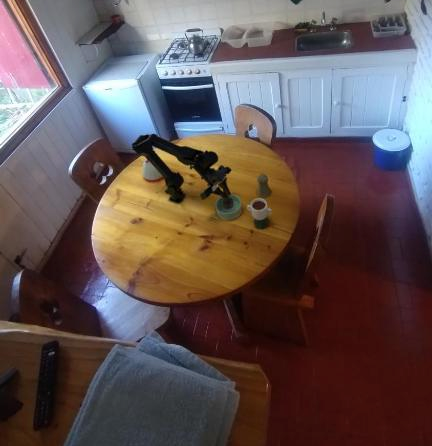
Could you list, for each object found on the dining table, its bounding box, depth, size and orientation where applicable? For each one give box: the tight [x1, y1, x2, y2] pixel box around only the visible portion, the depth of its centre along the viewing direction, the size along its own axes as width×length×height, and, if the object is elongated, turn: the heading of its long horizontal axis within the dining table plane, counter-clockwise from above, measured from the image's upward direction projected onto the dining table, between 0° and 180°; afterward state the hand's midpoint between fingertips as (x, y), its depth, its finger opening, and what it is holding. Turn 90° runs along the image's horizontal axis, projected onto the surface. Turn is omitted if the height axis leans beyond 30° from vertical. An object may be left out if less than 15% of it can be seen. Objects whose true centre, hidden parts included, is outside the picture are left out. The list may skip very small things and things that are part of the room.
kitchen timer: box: [141, 157, 165, 183], centre depth 189 cm, size 14×14×15 cm
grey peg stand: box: [222, 188, 234, 209], centre depth 156 cm, size 5×5×10 cm
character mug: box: [246, 197, 273, 230], centre depth 151 cm, size 11×7×13 cm, turn 69°
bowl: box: [214, 193, 243, 221], centre depth 163 cm, size 12×12×4 cm
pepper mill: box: [256, 173, 271, 198], centre depth 166 cm, size 6×6×11 cm
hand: (228, 196), depth 154 cm, fingers closed on grey peg stand, 2 cm apart
